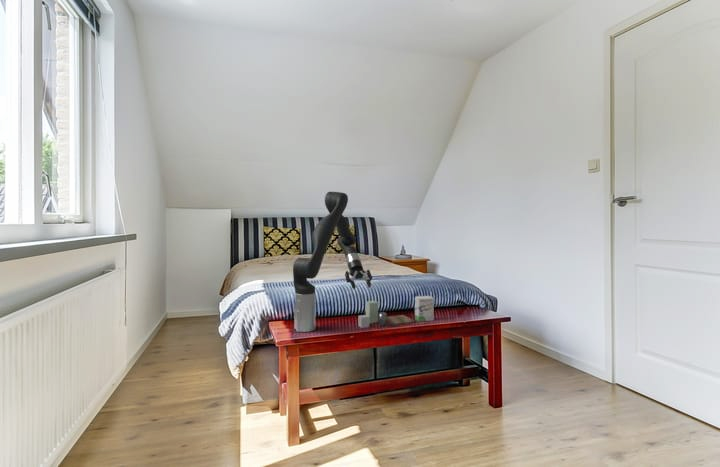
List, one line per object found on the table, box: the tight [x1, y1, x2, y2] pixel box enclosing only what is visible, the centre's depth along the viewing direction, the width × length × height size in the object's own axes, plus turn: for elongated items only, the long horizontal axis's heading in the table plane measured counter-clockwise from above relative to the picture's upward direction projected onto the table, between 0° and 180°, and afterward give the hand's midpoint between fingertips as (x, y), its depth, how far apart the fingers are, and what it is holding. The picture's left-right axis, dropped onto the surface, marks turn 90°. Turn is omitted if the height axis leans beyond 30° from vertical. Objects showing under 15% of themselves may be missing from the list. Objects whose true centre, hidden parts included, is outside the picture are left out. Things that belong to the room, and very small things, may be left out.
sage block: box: [365, 300, 379, 324], centre depth 195 cm, size 5×5×10 cm
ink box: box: [414, 295, 435, 322], centre depth 199 cm, size 8×5×12 cm, turn 107°
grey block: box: [357, 314, 370, 329], centre depth 187 cm, size 4×4×5 cm
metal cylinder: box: [378, 311, 387, 328], centre depth 189 cm, size 4×4×6 cm
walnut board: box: [386, 314, 416, 326], centre depth 197 cm, size 12×12×1 cm
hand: (362, 287), depth 207 cm, fingers open, 8 cm apart
